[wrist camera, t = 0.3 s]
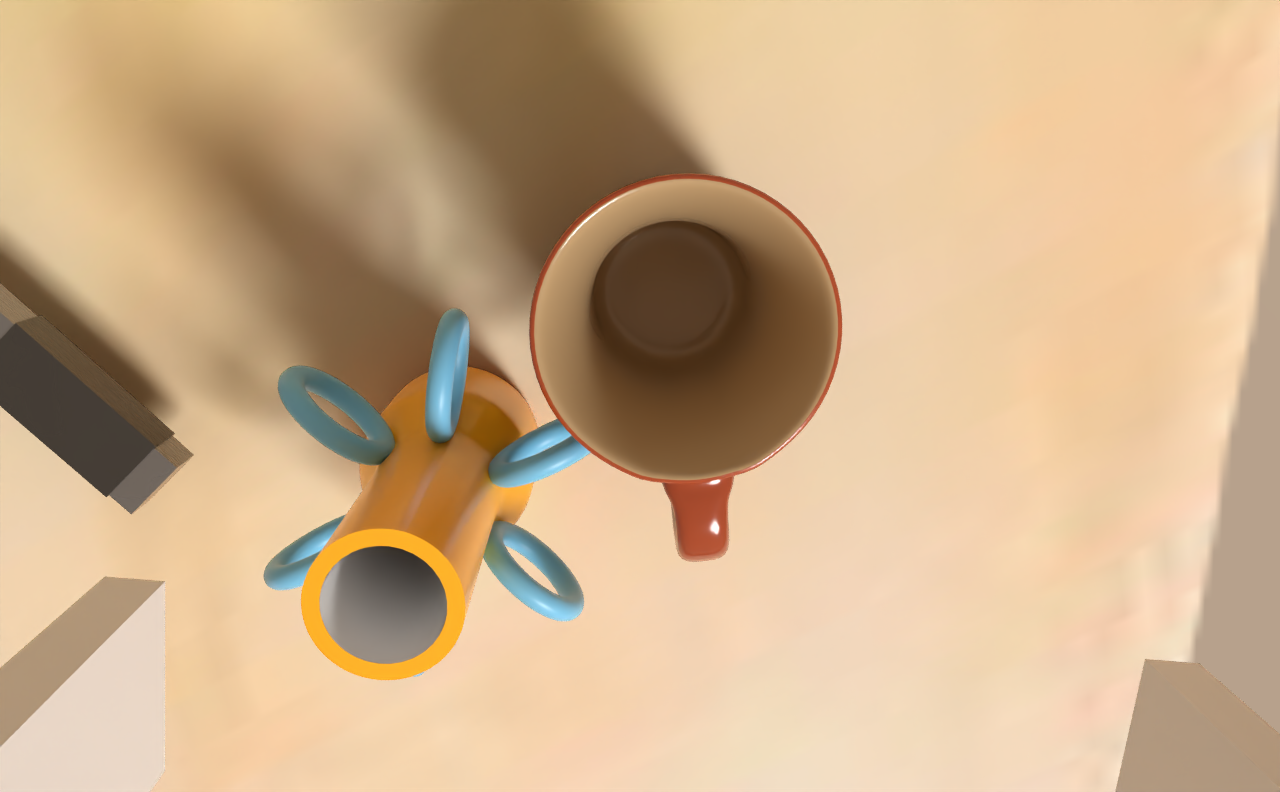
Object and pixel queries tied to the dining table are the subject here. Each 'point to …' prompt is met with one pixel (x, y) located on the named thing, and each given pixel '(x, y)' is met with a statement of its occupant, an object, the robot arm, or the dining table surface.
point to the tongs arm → (82, 410)
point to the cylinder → (423, 511)
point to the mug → (686, 338)
